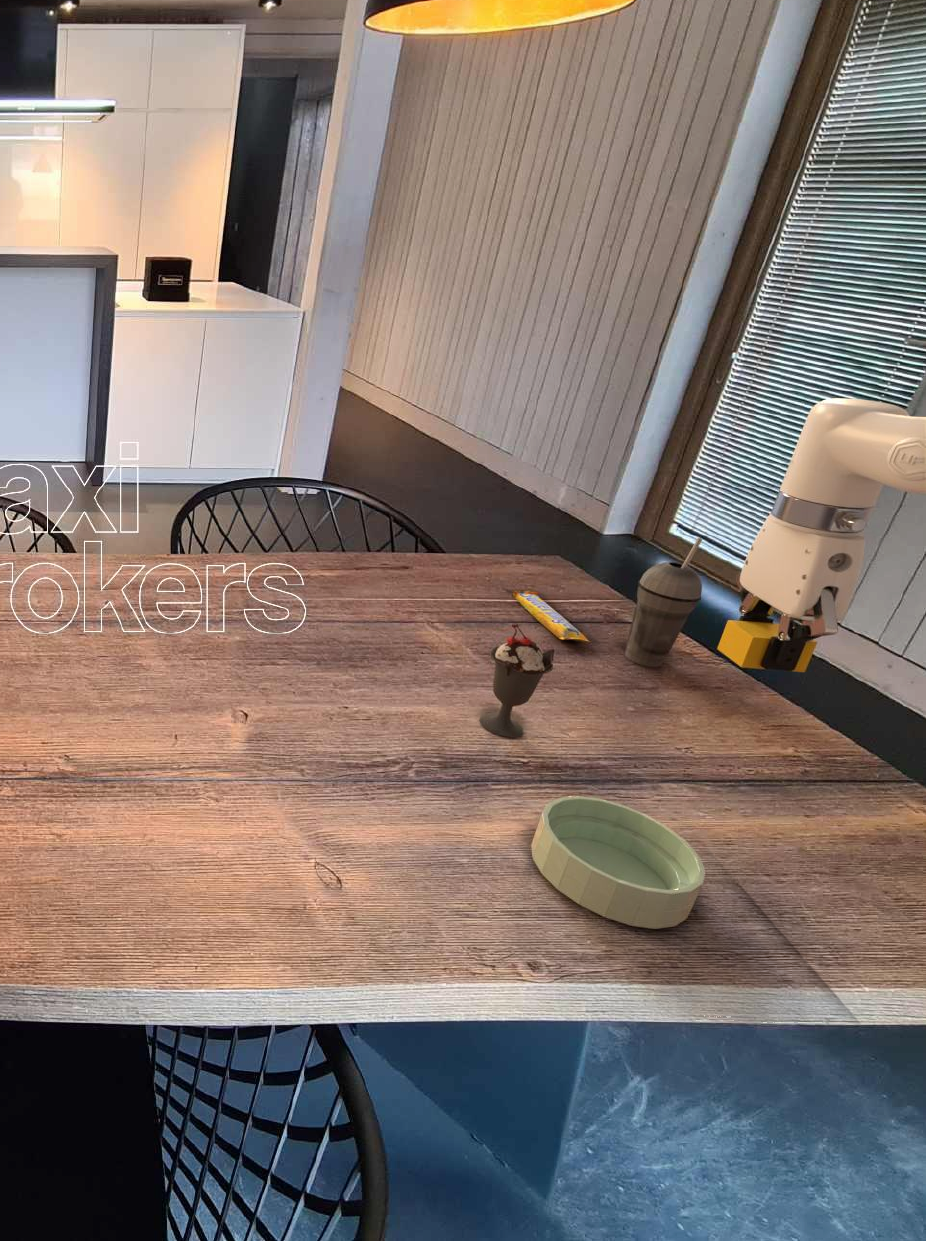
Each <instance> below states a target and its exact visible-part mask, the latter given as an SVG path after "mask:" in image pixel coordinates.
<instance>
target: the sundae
mask: <svg viewBox="0 0 926 1241" xmlns="http://www.w3.org/2000/svg"><path fill="white" fill-rule="evenodd" d="M511 627H512V628H513V629H514V630H515V632H514V634H513V636H512V637H508V638H507V640H506V643H503V644H502V645H497V646H495V647H493V648H492V650H491V651H490V659H491V660H493V661H494V674H493V680H492V681H493V682H492V692H493V695H494V696H495V697H496V699H497V700H498V701H499V702H500V703H501V706H500V710H499V712H498V714H495V713H487V714H484V715H481V716H480V718H479V723H480V725H481V726H482V727H483V728H484V729H485V730H487V731H488V732H490V733H492V734H495V735H498V736H500V737H504V738H508V739H509V738H512V739H513V738H519V737H521V736H523V734H524V729H523V727H522V726H521V725H520V724H519V723H518V722H517V721H515V720H514V719H512V718H511V715H512V710H513V708H514V707H518V706H522V705H524V704H526V703H528V702H529V701H530V699H531V697H532V696H533V694H534V693H535V690H536V689H537V687H538V685H539V683H540V682H541V679H542V677H543V676H544V675H545V674H548V673H550V672H552V671H553V667H554V664H553V663H552V662H553V660H554V658H555V649H554V648H550V649H549V650H547V651H544V652H543V649H542V648H541V646H540V645H538V643H537V642H535V641H533V640H532V639H531V638H529V637H527V636H525V634H524V633H523V632H522V630H521V628H520V627H519V624H514V623H513V624H511ZM517 629H518V630H517ZM517 631H519V632H520V633H521V635H522V638H520V639H518V638H516V636H517V633H518V632H517Z"/></svg>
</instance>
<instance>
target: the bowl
mask: <svg viewBox="0 0 926 1241" xmlns="http://www.w3.org/2000/svg"><path fill="white" fill-rule="evenodd" d="M530 848H531V854H532V855H531V856H532V861H533V862H534V864H535V865H536V867H537V868H538V870H539V872H540V873H541V875H542V876H543V877H544V878H545V879H546V880H547V881H548V882H549V883H550V884H551V885H552V886H553V887H554V888H555V889H556V890H558V892H560V893H561V894H563V895H565V896H566V897H568V898H569V899H570V900H572V901H573V902H574V903H576V904H578V905H580V907H583V908H585V909H588V910H589V911H591V912H593V913H595V914H598V915H599V916H601V917H604V918H606V919H609V920H612V921H615V922H619V923H622V924H624V925H628V926H632V927H637V928H643V929H652V930H657V929H665V928H672V927H677V926H678V925H680V924H681V923H682V922H684V921H685V920H687V919H688V917H689V915H690V913H691V911H692V908H693V907H694V904H695V903H696V900H697V898H698V896H699V893H700V891H701V889H702V887H703V885H704V881H705V878H706V874H707V871H706V868H705V866H704V863H703V860H702V858H701V857H700V855H699V854H698V853H697V852H696V850H695V849H694V848H693V847H692V845H690V844H689V842H688V841H687V840H685V839H684V838H683V837H682V836H681V835H679V834H678V833H676V832H675V831H674V830H673V829H672V828H670V827H669V826H668V825H665V824H663V823H662V822H660V821H658V820H657V819H655V818H653V817H651V816H649V815H648V814H646V813H644V812H642V811H639V810H636V809H634V808H631V807H629V806H626V805H624V804H621V803H618V802H614V801H610V800H607V799H606V800H605V799H602V798H599V797H591V796H582V795H572V796H563V797H561V796H560V797H558V798H555V799H554V800H552V801H550V802H548V803H547V804H546V806H545V808H543V811H542V813H541V815H540V818H539V820H538V824H537V827H536V830H535V833H534V836H533V839H532V841H531V844H530Z"/></svg>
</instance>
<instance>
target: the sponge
mask: <svg viewBox="0 0 926 1241" xmlns="http://www.w3.org/2000/svg"><path fill="white" fill-rule="evenodd" d="M779 625H780V623H778V622H777V623H776V622H773V623H763V622H749V621H739V620H735V619H734V620H731V619H728V620H727V622H726V624H725V627H724V629H723V633H722V635H721V638H720V640H719V643H718V645H717V647H716V649H717V651H719V652H720V653H721V654H723V655H724V656H726V657H727V658H729V660H731V661H732V662H733V663H735V664H736V665H738V666H739V667H740V668H742V669H743V668H746V669H759V670H765V669H764V668H763V667H762V666H761V662H762V659H763V657H764V654H765V652H766V649H767V647H768V644H769V642H770V639H771V637H772V636H774V637H778V630H779ZM793 628H795V627H794V626H793ZM817 644H818V641H817V640H816V639H813V641H812V642H811V643H806V644H805V647H804V649H803V651H802V654H801V656H800V658H799V661H798V663H797V666H796V668H795V669H794V670H793V671H792V672H797V673H805V672H806V670H807V668H808V666H809V663H810V661H811V658H812V656H813V654H814V651H815V650H816V646H817ZM768 670H769V671H770V669H768ZM781 671H783V670H781Z"/></svg>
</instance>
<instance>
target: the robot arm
mask: <svg viewBox="0 0 926 1241" xmlns="http://www.w3.org/2000/svg"><path fill="white" fill-rule="evenodd" d="M798 437H799V438H798V440H797V443H796V446H795V448H794V451H793V453H792V456H791V459H790V461H789V464H788V466H787V469H786V472H785V474H784V477H783V480H782V483H781V485H780V487H779V490H778V492H777V495H776V498H775V501H774V503H773V506H772V509H771V511H770V513H769V515H768V516H767V518H766V519H765V521H764V522H763V524H762V526H761V527H760V529H759V531H758V533H757V534H756V536H755V538H754V540H753V542H752V544H751V547H750V548H749V550H748V553H747V556H746V558H745V560H744V563H743V566H742V569H741V571H740V572H739V573H738V574H736V576H735V582H736V584H737V588H738V589H739V591H740V592H739V596H740V601H741V604H740V606H739V607H738V612H739V614H740V617H739V620H738V621H749V622H763V623H774V621H775V619H774V618H773V617H771V616H772V614H774V611H775V610H778V611H779V612H780V613H781V615H780V620H779V624H780V625H779V630H778V637H774V636H772V637H771V639H770V642H769V644H768V647H767V649H766V652H765V654H764V657H763V659H762V662H761V666H762V667H763V668H764V669H763V670H769V669H770V670H771V671H782V670H783V671H784V672H794V671H793V670H794V669H795V668H796V666H797V663H798V661H799V658H800V656H801V654H802V651H803V649H804V647H805V644H806V643H811V642H812V641H813V640H816V639H819V638H821V637H827V636H834V635H837V634H838V633H839V626H838V622H840V621H841V620H842V619H843V618H844V617H845V615H846V613H847V611H848V609H849V607H850V604H851V601H852V599H853V596H854V593H855V590H856V588H857V584H858V581H859V578H860V575H861V571H862V567H863V562H864V558H865V552H866V543H867V542H866V540H867V539H866V537H864V536H862V535H863V533H864V531H865V529H866V527H867V526H868V521H870V520H869V519H870V517H871V515H872V512H873V510H874V508H875V505H876V503H877V501H878V499H879V496H880V493H881V492H882V489H883V487H884V485H885V486H887V487H890V488H893V489H896V490H899V491H902V492H906V493H910V494H915V495H921V496H922V495H923V496H924V495H925V496H926V416H912V415H910V414H909V413H908V411H907V410H906V409H904V408H903V407H900V406H898V405H895V404H892V403H887V402H881V401H875V400H868V399H860V398H859V399H858V398H843V397H842V398H840V397H839V398H838V397H837V398H828V399H823V400H822V401H818V403H816V404H814V406H812V407H811V409H810V410H809V412H808V415H807V417H806V418H805V422H804V425H803V427H802V430H801V432H800V434H799V436H798ZM795 621H802V622H801V625H798V626H796V627H794V625H795ZM793 627H794V628H793ZM770 670H769V671H770Z"/></svg>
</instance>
